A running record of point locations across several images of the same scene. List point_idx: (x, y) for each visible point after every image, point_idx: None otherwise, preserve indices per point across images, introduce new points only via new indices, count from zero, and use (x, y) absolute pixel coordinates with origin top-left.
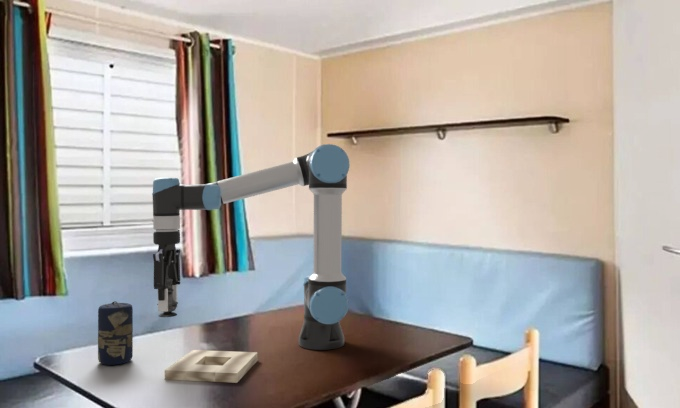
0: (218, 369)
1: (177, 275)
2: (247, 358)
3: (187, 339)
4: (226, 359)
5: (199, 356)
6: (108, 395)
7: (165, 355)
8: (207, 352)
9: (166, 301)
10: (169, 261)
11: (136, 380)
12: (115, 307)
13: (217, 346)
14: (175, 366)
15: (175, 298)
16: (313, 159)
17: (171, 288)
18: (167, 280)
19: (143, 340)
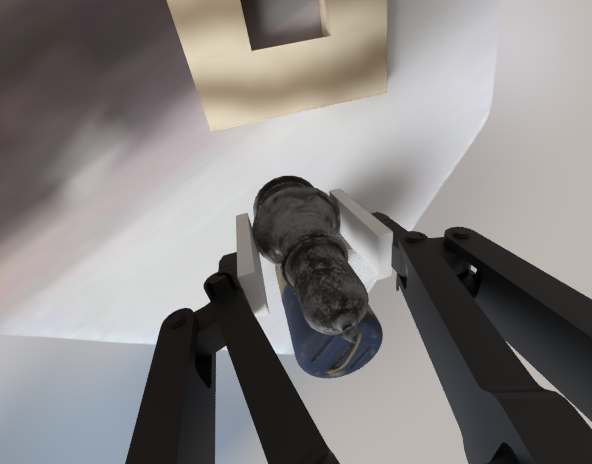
0: None
1: (194, 351)
2: None
3: (76, 253)
4: None
5: (260, 68)
6: (460, 141)
7: (225, 208)
8: (213, 67)
9: (357, 205)
10: (584, 453)
11: (387, 149)
12: (374, 330)
13: (68, 130)
14: (357, 82)
15: (250, 233)
16: None
17: (322, 247)
18: (365, 290)
19: (156, 320)
